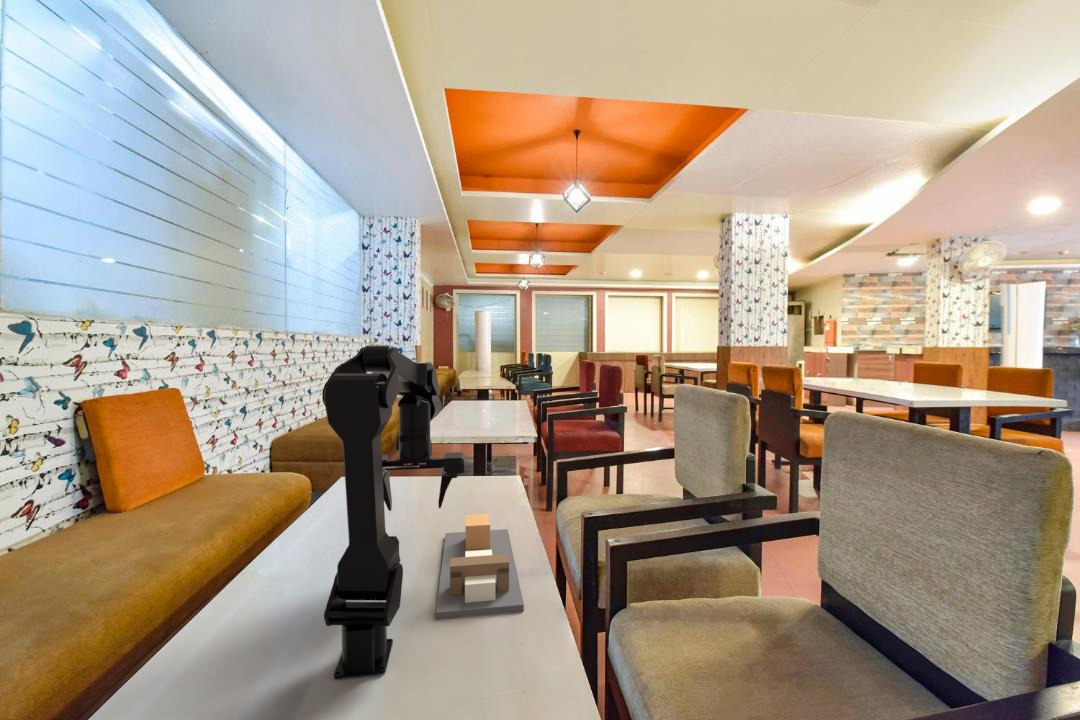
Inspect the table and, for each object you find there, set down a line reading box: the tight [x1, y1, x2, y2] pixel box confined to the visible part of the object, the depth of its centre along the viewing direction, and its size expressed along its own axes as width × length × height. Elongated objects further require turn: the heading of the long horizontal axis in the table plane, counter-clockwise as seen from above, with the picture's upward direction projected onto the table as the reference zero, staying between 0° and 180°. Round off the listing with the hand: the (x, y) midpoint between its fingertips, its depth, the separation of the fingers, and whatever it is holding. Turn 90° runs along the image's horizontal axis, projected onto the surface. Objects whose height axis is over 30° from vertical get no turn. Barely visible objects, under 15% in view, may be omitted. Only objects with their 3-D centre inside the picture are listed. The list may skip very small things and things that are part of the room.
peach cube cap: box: [465, 513, 491, 550], centre depth 94 cm, size 6×5×5 cm
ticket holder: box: [435, 528, 525, 620], centre depth 86 cm, size 30×14×6 cm, turn 9°
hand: (415, 508), depth 85 cm, fingers open, 9 cm apart
